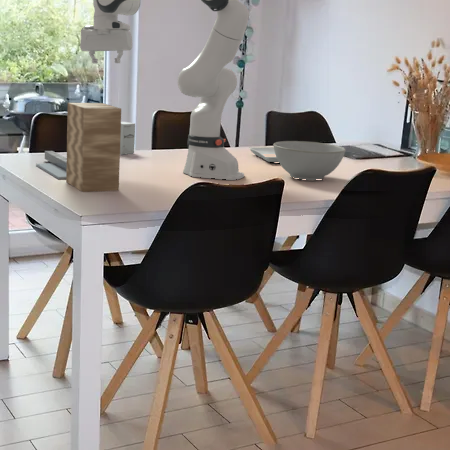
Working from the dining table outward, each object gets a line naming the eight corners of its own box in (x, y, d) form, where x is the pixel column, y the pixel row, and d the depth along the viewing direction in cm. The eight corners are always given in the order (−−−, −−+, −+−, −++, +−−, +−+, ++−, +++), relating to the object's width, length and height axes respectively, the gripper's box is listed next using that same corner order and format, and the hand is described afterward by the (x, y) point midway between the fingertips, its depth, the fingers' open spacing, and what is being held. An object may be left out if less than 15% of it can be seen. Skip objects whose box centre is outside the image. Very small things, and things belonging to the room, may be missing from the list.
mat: (36, 165, 285) (36, 163, 285) (73, 164, 292) (73, 162, 292) (58, 179, 263) (58, 177, 263) (98, 178, 270) (98, 175, 270)
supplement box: (122, 155, 322) (123, 124, 319) (109, 152, 326) (110, 122, 323) (134, 153, 327) (135, 123, 324) (121, 151, 332) (122, 121, 329)
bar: (44, 158, 296) (44, 151, 295) (52, 158, 297) (52, 150, 297) (70, 173, 271) (70, 164, 270) (78, 173, 272) (79, 164, 271)
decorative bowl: (350, 177, 304) (353, 146, 301) (330, 188, 280) (333, 154, 277) (285, 169, 314) (287, 138, 311) (260, 178, 290) (262, 145, 287)
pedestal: (66, 182, 260) (67, 102, 254) (100, 180, 266) (103, 103, 259) (82, 191, 246) (84, 108, 240) (118, 190, 252) (121, 108, 246)
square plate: (327, 167, 329) (328, 157, 328) (265, 165, 322) (265, 156, 321) (305, 156, 354) (306, 147, 353) (247, 154, 347) (247, 146, 346)
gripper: (76, 25, 294) (77, 63, 296) (126, 23, 287) (126, 62, 289) (85, 27, 300) (85, 64, 302) (133, 25, 293) (134, 63, 295)
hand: (106, 63), depth 295 cm, fingers open, 8 cm apart
